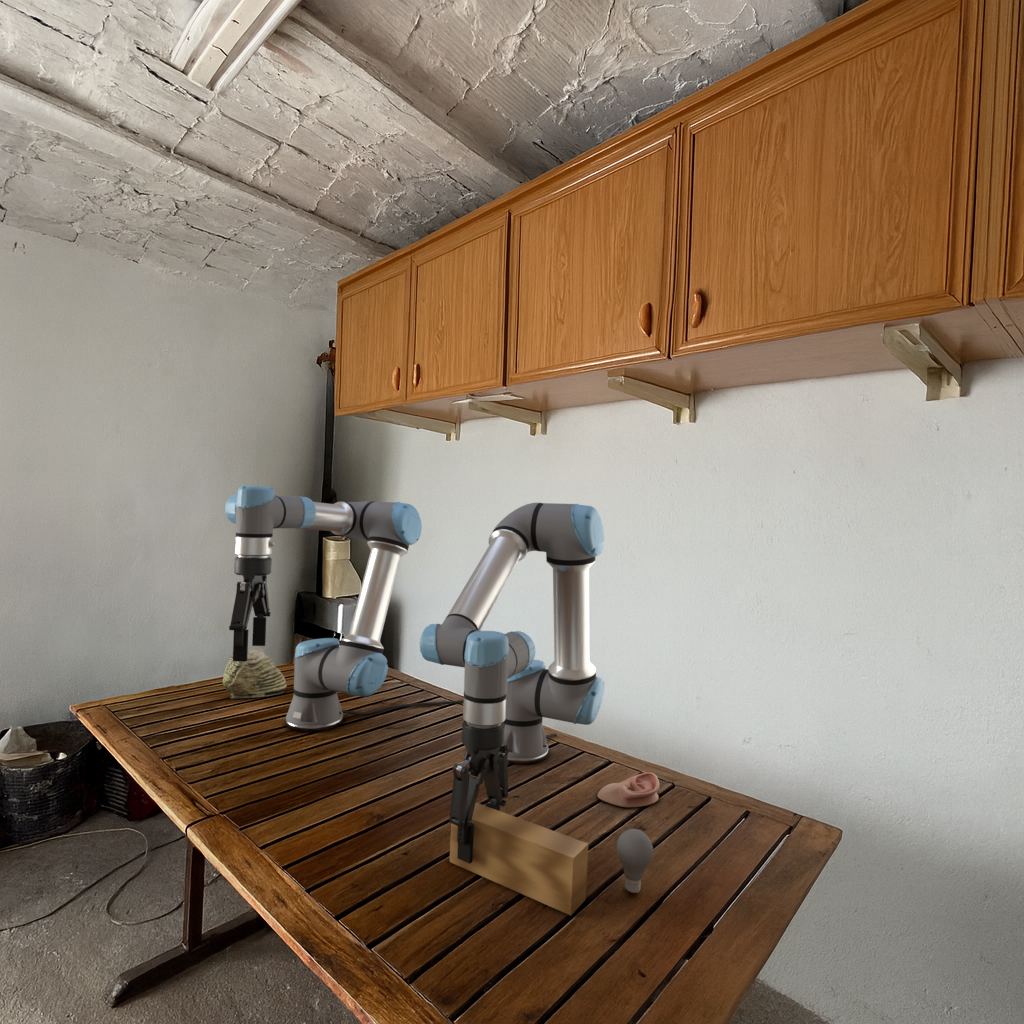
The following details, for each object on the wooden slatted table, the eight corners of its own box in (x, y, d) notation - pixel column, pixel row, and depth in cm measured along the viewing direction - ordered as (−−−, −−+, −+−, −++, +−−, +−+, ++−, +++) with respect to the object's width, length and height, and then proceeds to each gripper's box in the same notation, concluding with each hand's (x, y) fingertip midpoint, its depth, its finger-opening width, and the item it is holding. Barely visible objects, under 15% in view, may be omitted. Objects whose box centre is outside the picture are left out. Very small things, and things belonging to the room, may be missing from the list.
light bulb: (610, 879, 108) (613, 822, 108) (644, 879, 109) (647, 822, 109) (619, 902, 102) (622, 840, 102) (655, 901, 103) (658, 840, 103)
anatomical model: (597, 785, 136) (600, 763, 147) (596, 803, 136) (599, 780, 147) (660, 793, 133) (659, 771, 144) (659, 812, 133) (658, 788, 144)
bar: (586, 899, 103) (588, 843, 103) (571, 916, 99) (573, 857, 99) (467, 849, 116) (469, 799, 116) (449, 862, 112) (451, 810, 112)
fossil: (218, 695, 195) (220, 647, 195) (278, 685, 208) (279, 640, 207) (228, 703, 189) (230, 653, 188) (289, 692, 201) (290, 645, 201)
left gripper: (254, 562, 126) (250, 668, 127) (285, 551, 151) (281, 640, 152) (215, 561, 126) (211, 667, 126) (252, 550, 150) (249, 639, 151)
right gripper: (498, 702, 122) (493, 821, 122) (430, 732, 105) (424, 868, 105) (531, 711, 118) (526, 833, 118) (466, 743, 101) (459, 885, 101)
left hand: (249, 653), depth 139 cm, fingers open, 13 cm apart
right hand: (478, 850), depth 112 cm, fingers open, 7 cm apart
